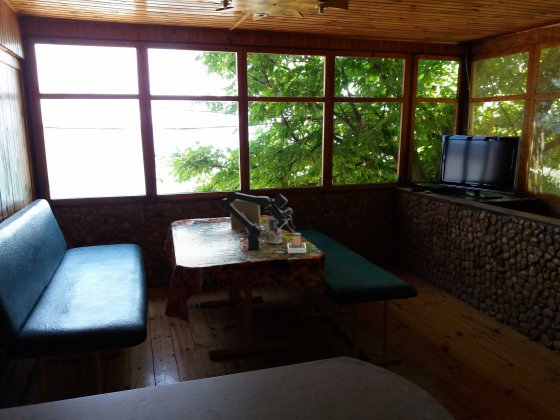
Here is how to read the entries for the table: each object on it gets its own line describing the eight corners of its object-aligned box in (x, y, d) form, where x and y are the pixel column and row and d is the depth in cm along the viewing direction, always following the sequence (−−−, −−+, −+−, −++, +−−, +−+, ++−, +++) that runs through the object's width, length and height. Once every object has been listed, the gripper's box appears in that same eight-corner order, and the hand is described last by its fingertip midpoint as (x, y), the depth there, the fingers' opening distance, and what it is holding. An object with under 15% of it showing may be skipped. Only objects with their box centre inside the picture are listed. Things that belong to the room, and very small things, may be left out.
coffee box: (282, 242, 280) (282, 218, 277) (277, 244, 275) (277, 220, 272) (271, 240, 285) (270, 217, 282) (265, 242, 279) (265, 218, 277)
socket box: (288, 253, 254) (287, 247, 254) (287, 247, 266) (287, 242, 265) (306, 252, 254) (306, 247, 254) (304, 247, 266) (304, 242, 266)
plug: (292, 250, 258) (292, 234, 256) (293, 248, 262) (293, 232, 261) (300, 250, 258) (300, 234, 256) (300, 248, 262) (300, 232, 260)
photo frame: (232, 228, 321) (231, 196, 316) (260, 229, 318) (260, 196, 314) (228, 233, 306) (227, 199, 301) (258, 234, 304) (257, 199, 299)
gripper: (281, 206, 248) (300, 225, 247) (288, 201, 266) (305, 219, 265) (269, 219, 251) (287, 238, 250) (276, 213, 269) (293, 231, 268)
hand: (293, 231), depth 258 cm, fingers open, 9 cm apart
